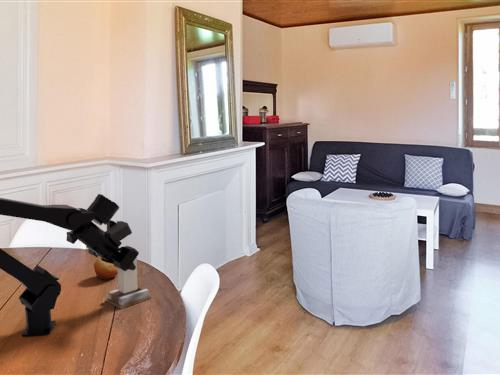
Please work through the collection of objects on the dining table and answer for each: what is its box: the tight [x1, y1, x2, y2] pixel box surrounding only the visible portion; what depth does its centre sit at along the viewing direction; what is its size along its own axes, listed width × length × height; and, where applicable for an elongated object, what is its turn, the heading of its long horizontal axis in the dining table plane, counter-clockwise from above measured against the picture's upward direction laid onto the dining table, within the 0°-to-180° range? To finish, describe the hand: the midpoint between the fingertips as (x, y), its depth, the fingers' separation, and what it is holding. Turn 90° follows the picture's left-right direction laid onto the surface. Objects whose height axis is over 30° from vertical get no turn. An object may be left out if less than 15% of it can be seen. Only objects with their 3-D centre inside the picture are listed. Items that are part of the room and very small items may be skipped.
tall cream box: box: [117, 251, 139, 293], centre depth 127 cm, size 4×3×12 cm, turn 137°
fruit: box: [93, 257, 118, 281], centre depth 145 cm, size 8×8×8 cm
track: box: [105, 284, 152, 310], centre depth 128 cm, size 10×8×3 cm
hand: (131, 267), depth 128 cm, fingers closed on tall cream box, 3 cm apart
